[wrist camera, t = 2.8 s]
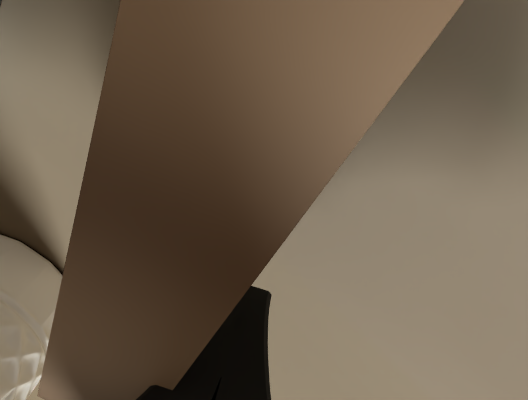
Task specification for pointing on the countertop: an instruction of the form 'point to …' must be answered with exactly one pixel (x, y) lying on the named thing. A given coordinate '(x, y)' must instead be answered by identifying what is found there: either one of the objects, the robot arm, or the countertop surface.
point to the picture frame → (211, 168)
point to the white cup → (24, 316)
